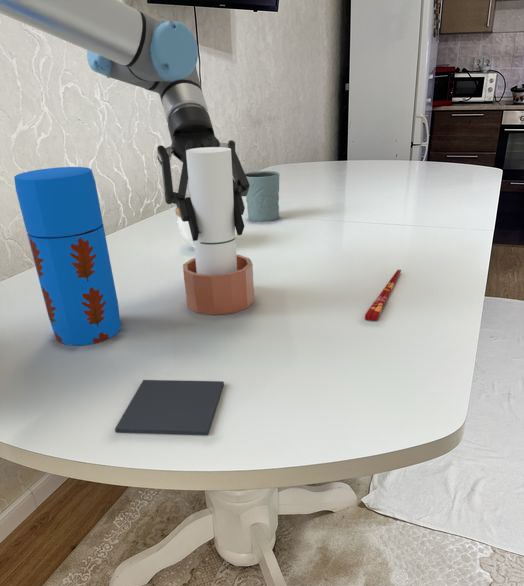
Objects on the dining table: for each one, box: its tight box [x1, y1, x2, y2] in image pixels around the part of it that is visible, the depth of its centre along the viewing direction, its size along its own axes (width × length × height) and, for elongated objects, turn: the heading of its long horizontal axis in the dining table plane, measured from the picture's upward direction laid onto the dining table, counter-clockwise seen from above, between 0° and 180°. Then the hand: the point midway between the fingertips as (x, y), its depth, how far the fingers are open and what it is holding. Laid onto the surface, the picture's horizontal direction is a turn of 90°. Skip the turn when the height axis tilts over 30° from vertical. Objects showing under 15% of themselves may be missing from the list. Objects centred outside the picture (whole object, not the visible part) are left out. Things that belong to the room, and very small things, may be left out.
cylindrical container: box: [186, 147, 237, 275], centre depth 89 cm, size 7×7×25 cm
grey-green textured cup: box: [245, 170, 280, 223], centre depth 145 cm, size 10×10×12 cm
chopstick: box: [364, 269, 402, 321], centre depth 95 cm, size 2×24×1 cm, turn 157°
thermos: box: [13, 166, 122, 347], centre depth 80 cm, size 11×11×25 cm
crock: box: [182, 253, 255, 316], centre depth 93 cm, size 12×12×7 cm
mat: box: [114, 379, 225, 436], centre depth 65 cm, size 11×11×1 cm
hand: (218, 233), depth 86 cm, fingers closed on cylindrical container, 7 cm apart
